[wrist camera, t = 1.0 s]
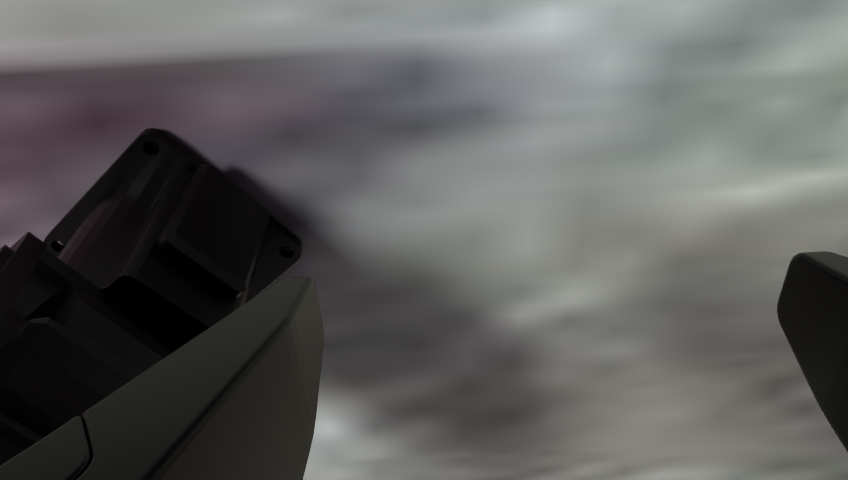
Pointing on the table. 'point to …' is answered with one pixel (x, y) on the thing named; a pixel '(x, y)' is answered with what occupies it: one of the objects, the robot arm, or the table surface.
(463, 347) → the table surface
